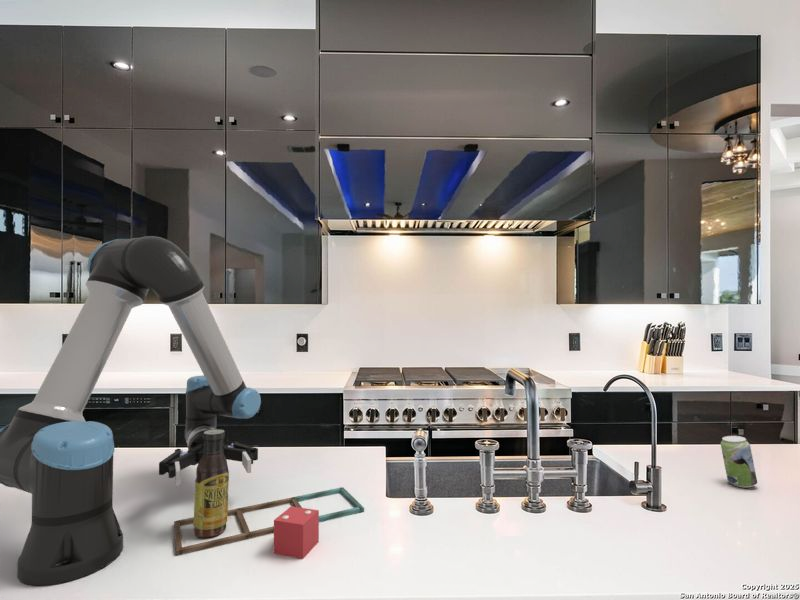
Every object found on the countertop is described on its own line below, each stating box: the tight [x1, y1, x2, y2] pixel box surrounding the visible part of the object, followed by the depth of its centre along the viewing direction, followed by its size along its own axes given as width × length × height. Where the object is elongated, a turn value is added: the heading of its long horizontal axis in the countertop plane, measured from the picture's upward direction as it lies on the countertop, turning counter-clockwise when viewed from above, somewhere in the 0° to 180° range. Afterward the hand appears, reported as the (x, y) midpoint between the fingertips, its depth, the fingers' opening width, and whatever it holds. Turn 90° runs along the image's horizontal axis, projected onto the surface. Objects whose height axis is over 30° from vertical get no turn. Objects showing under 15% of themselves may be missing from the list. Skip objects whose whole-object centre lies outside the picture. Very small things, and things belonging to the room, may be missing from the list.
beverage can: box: [720, 435, 758, 489], centre depth 112 cm, size 6×7×12 cm
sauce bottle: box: [193, 428, 230, 539], centre depth 89 cm, size 6×6×20 cm
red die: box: [273, 505, 320, 559], centre depth 83 cm, size 6×6×6 cm
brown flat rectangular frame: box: [173, 486, 365, 556], centre depth 95 cm, size 37×13×1 cm, turn 118°
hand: (215, 472), depth 92 cm, fingers open, 13 cm apart
